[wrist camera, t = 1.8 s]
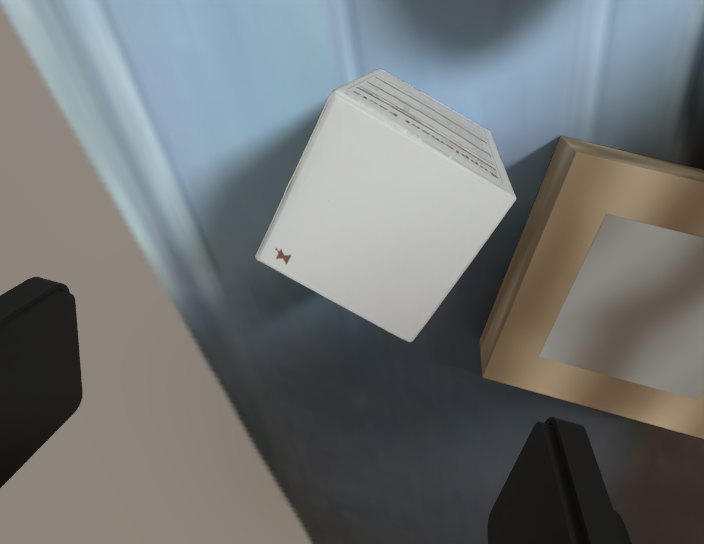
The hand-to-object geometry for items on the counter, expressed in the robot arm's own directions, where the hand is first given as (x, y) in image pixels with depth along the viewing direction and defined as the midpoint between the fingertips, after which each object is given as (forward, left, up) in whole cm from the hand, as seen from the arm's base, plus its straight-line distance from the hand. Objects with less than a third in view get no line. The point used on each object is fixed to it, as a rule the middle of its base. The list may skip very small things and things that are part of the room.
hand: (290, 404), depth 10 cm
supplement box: (0, 0, -22) cm, 22 cm away
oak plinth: (-15, +4, -22) cm, 27 cm away
